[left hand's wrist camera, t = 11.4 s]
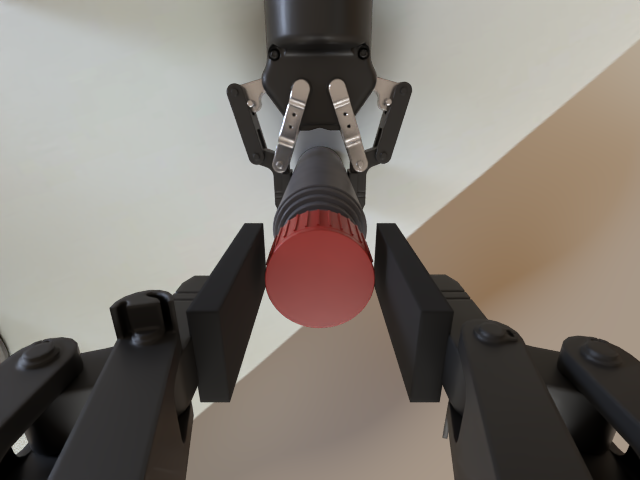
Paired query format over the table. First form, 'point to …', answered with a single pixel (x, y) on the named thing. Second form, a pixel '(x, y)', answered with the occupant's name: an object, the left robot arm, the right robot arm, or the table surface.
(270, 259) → the cap
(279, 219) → the bottle
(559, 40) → the table surface
